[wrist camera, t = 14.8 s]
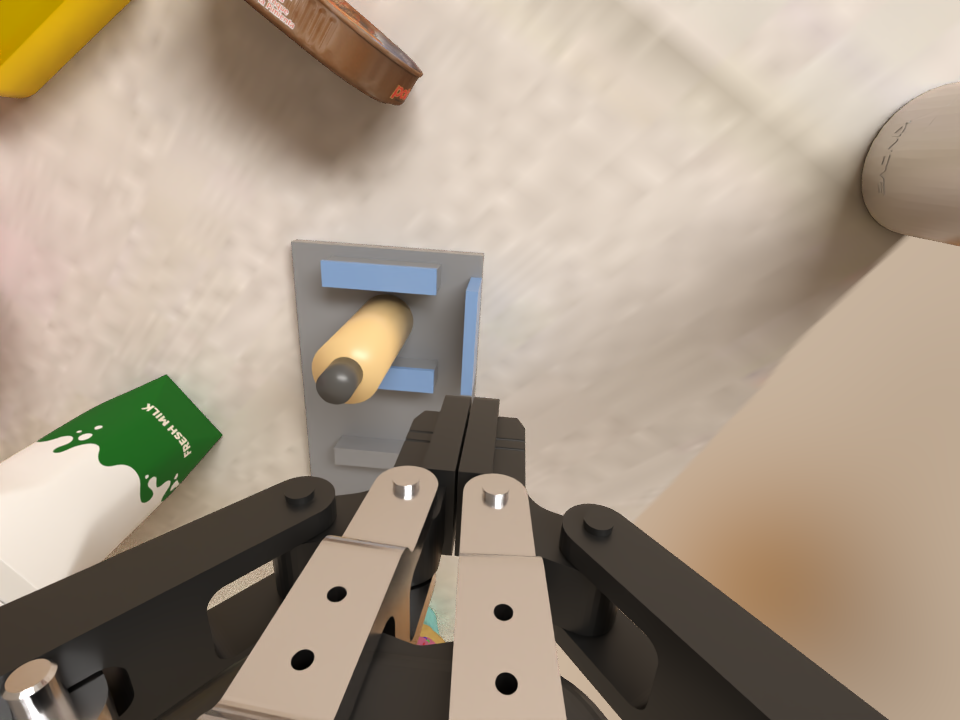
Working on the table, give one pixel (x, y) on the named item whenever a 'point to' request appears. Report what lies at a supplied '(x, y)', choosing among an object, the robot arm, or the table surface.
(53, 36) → the element tile
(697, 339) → the table surface
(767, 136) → the table surface
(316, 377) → the yellow bottle
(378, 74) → the tin
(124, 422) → the milk carton
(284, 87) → the table surface
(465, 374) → the slotted grey board
